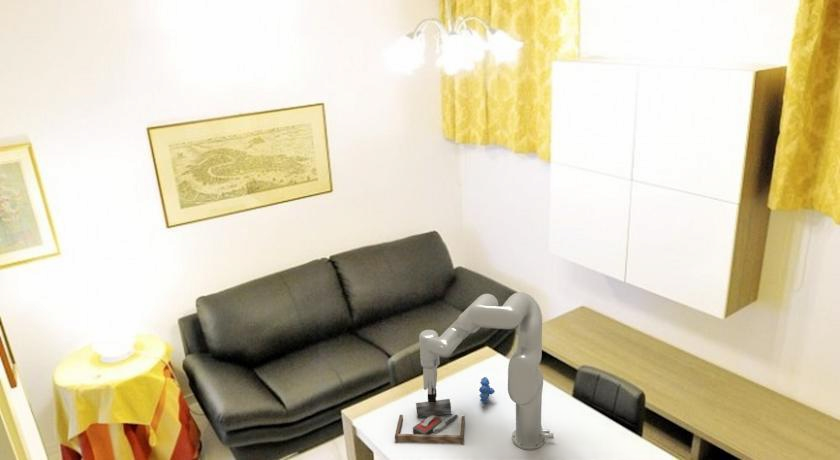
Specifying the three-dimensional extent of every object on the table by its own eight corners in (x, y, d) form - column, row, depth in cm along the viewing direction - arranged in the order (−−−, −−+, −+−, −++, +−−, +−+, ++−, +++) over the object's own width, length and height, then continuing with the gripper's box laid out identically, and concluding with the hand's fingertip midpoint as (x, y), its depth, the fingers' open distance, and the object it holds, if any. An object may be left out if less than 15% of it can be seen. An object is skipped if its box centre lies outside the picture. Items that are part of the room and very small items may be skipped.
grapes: (493, 411, 253) (493, 386, 249) (477, 410, 254) (476, 385, 250) (496, 395, 263) (496, 371, 259) (481, 394, 265) (480, 370, 261)
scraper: (450, 409, 254) (448, 382, 250) (451, 413, 252) (449, 386, 247) (416, 413, 254) (414, 386, 249) (417, 417, 251) (414, 390, 246)
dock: (464, 422, 247) (464, 416, 246) (463, 444, 235) (463, 438, 234) (400, 420, 251) (399, 414, 250) (395, 442, 238) (394, 436, 237)
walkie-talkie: (426, 444, 237) (459, 419, 250) (425, 434, 235) (458, 409, 249) (409, 435, 242) (442, 410, 256) (409, 425, 241) (442, 401, 255)
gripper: (422, 349, 252) (424, 387, 258) (418, 371, 237) (421, 411, 243) (440, 349, 251) (442, 388, 258) (438, 371, 236) (440, 411, 242)
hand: (432, 399), depth 250 cm, fingers closed on scraper, 2 cm apart
